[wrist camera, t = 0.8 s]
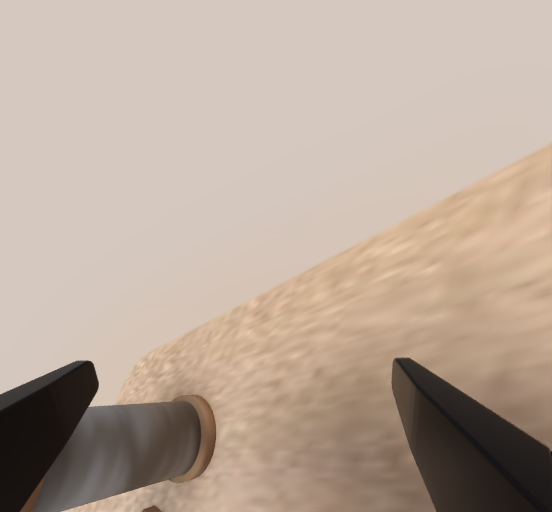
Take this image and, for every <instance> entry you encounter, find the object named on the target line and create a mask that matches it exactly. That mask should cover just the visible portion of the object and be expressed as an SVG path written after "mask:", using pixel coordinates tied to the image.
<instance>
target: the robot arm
mask: <svg viewBox="0 0 552 512" xmlns="http://www.w3.org/2000/svg"><path fill="white" fill-rule="evenodd" d="M98 387H99V382H98V378H97V375H96V371H95V367H94V364H93V363H92V362H91V361H75V362H73V363H71V364H68V365H66V366H64V367H62V368H59V369H57V370H55V371H52V372H51V373H48V374H46V375H44V376H42V377H39V378H37V379H35V380H32V381H30V382H28V383H26V384H23V385H21V386H19V387H16V388H14V389H12V390H10V391H7V392H5V393H3V394H0V512H21V510H22V509H23V507H24V506H25V504H26V503H27V501H28V500H29V498H30V497H31V496H32V494H33V493H34V491H35V490H36V488H37V487H38V485H39V484H40V482H41V481H42V479H43V478H44V477H45V475H46V474H47V472H48V471H49V469H50V468H51V466H52V465H53V463H54V462H55V460H56V459H57V458H58V456H59V455H60V453H61V452H62V450H63V449H64V447H65V446H66V444H67V443H68V441H69V439H70V438H71V436H72V434H73V433H74V431H75V429H76V427H77V426H78V424H79V422H80V420H81V419H82V417H83V415H84V413H85V412H86V410H87V408H88V406H89V405H90V403H91V401H92V399H93V398H94V396H95V394H96V392H97V390H98ZM392 390H393V394H394V397H395V400H396V404H397V407H398V410H399V413H400V417H401V420H402V423H403V427H404V430H405V433H406V436H407V440H408V443H409V446H410V449H411V451H412V454H413V456H414V459H415V461H416V464H417V466H418V468H419V471H420V473H421V475H422V478H423V480H424V483H425V485H426V487H427V490H428V492H429V495H430V497H431V499H432V502H433V504H434V506H435V509H436V511H437V512H552V451H550V449H549V447H547V446H546V445H544V444H542V443H541V442H539V441H538V440H536V439H535V438H533V437H532V436H530V435H528V434H527V433H525V432H524V431H522V430H521V429H519V428H518V427H516V426H514V425H513V424H511V423H510V422H508V421H507V420H505V419H504V418H502V417H500V416H499V415H497V414H496V413H494V412H493V411H491V410H490V409H488V408H487V407H485V406H483V405H482V404H480V403H479V402H477V401H476V400H474V399H473V398H471V397H469V396H468V395H466V394H465V393H463V392H462V391H460V390H459V389H457V388H455V387H454V386H452V385H451V384H449V383H448V382H446V381H445V380H443V379H442V378H440V377H438V376H437V375H435V374H434V373H432V372H431V371H429V370H428V369H426V368H424V367H423V366H421V365H420V364H418V363H417V362H415V361H414V360H412V359H410V358H395V359H394V360H393V368H392Z"/></svg>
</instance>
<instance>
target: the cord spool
mask: <svg viewBox="0 0 552 512" xmlns="http://www.w3.org/2000/svg"><path fill="white" fill-rule="evenodd" d="M215 439H216V426H215V420H214V415H213V412H212V410H211V407H210V406H209V404H208V403H207V401H206V400H205V399H204V398H202V397H200V396H198V395H186V396H179V397H177V398H175V399H174V400H173V401H172V402H160V403H144V404H128V405H113V406H97V407H96V406H95V407H88V408H87V410H86V412H85V413H84V415H83V417H82V419H81V420H80V422H79V424H78V426H77V427H76V429H75V431H74V433H73V434H72V436H71V438H70V439H69V441H68V443H67V444H66V446H65V447H64V449H63V450H62V452H61V453H60V455H59V456H58V458H57V459H56V460H55V462H54V463H53V465H52V466H51V468H50V469H49V471H48V472H47V474H46V475H45V477H44V478H43V479H42V481H41V482H40V484H39V485H38V487H37V488H36V490H35V491H34V493H33V494H32V496H31V497H30V498H29V500H28V501H27V503H26V504H25V506H24V507H23V509H22V510H21V512H61V511H65V510H68V509H71V508H75V507H78V506H81V505H85V504H88V503H91V502H95V501H98V500H101V499H105V498H108V497H111V496H115V495H118V494H121V493H125V492H128V491H131V490H135V489H138V488H141V487H145V486H148V485H151V484H155V483H158V482H161V481H165V480H168V479H169V480H170V481H172V482H175V483H181V482H184V481H187V480H190V479H193V478H196V477H198V476H199V475H201V474H202V473H203V472H204V470H205V469H206V468H207V466H208V464H209V462H210V460H211V457H212V455H213V451H214V447H215Z"/></svg>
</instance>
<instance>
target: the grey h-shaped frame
mask: <svg viewBox="0 0 552 512" xmlns="http://www.w3.org/2000/svg"><path fill="white" fill-rule="evenodd" d="M142 512H161V511H160V510H158V509H157V508H156V507H155V506H152V507H149V508H146V509H144V510H143V511H142Z"/></svg>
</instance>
